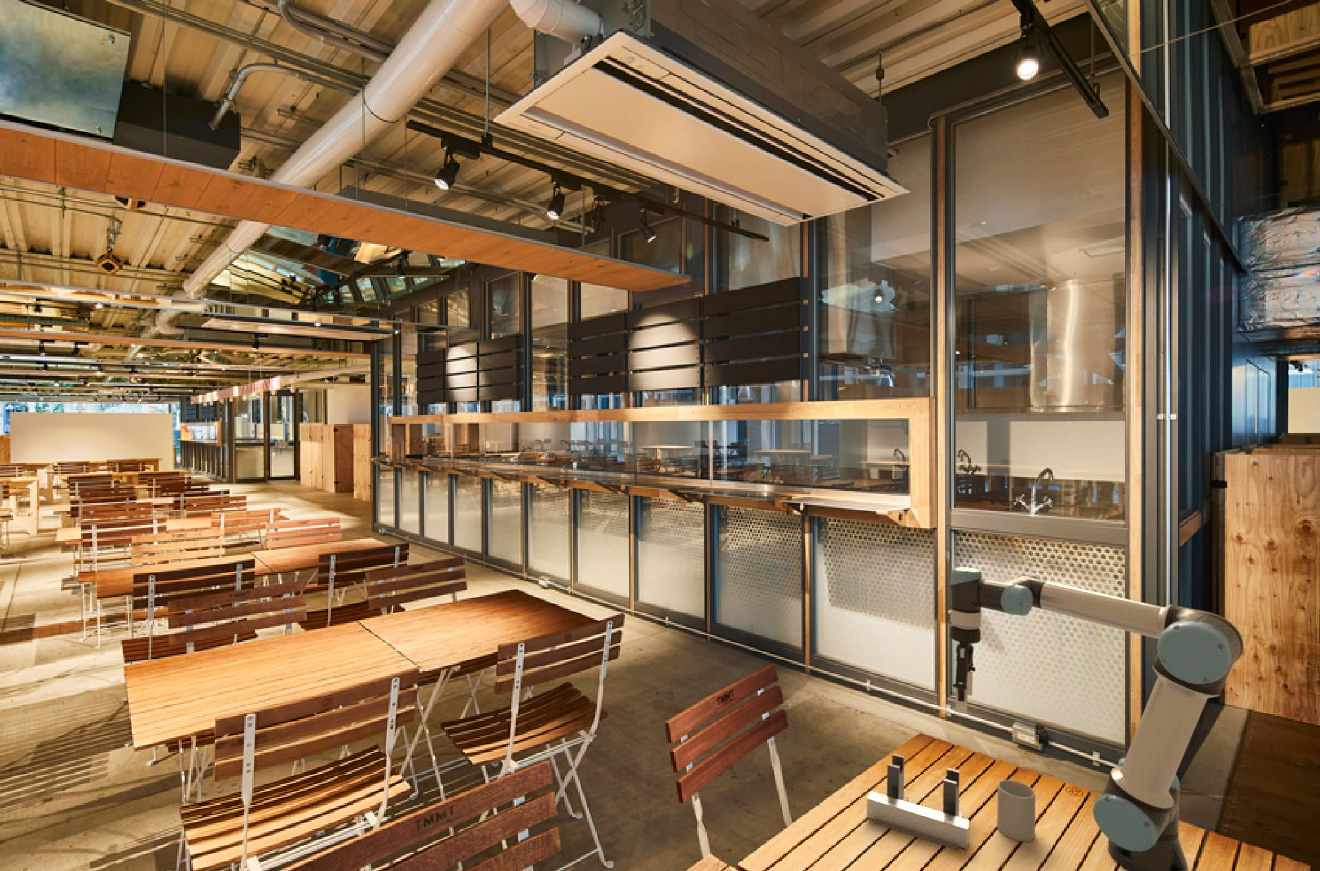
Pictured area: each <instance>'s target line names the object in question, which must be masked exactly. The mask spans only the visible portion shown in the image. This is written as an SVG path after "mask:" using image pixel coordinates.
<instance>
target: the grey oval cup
mask: <svg viewBox="0 0 1320 871" xmlns="http://www.w3.org/2000/svg"><path fill="white" fill-rule="evenodd" d="M996 808H997V812H996V814H997V817H996V826H997V829H998V831H999V832H1000V833H1001V834H1002V835H1004V836H1006V837H1007V838H1010V839H1012V840H1015V841H1018V842H1019V841H1020V842H1030V841H1032V840H1034V838H1035V836H1036V791H1034V789H1033V788H1031V787H1030V786H1029V785H1027V784H1026V783H1023V782H1020V781H1018V780H1012V779H1011V780H1010V779H1002V780H1000V781H999V782H998V784H997V806H996Z"/></svg>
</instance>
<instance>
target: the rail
mask: <svg viewBox="0 0 1320 871" xmlns="http://www.w3.org/2000/svg"><path fill="white" fill-rule="evenodd" d="M866 818H868V819H872V820H873V821H875V820H877V821H880V822H884V823H887V824H890V825H893V826H896V827H899V828H902V829H905V830H908V831H912V832H915V833H918V834H921V835H924V836H927V837H930V838H933V839H937V840H940V841H943V842H946V843H949V844H952V845H955V846H958V847H959V848H962V849H965V850H968V849H969V848H968V847H969V841H970V820H969V819H965V818H964V817H963V818H959V817H956V816H952V815H949V814H946V813H942V811H938V810H935V809H932V808H929V807H925V806H923V805H922V806H921V805H919V804H915V803H912V802H908V801H907V802H906V801H902V800H899V799H896V798H892V797H889V796H887V795H885V794H882V793H878V792H875V791H871V790H870V792H869V794H868V795H867V798H866Z"/></svg>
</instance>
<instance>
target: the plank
mask: <svg viewBox="0 0 1320 871" xmlns="http://www.w3.org/2000/svg"><path fill="white" fill-rule="evenodd" d="M873 821H874V822H873V824H875V825H879V826H881V827H885V828H887V829H891V830H894V831H897V832H900V833H903V834H906V835H910V836H913V837H914V838H918V839H921V840H925V841H929V842H930V843H934V844H937V845H940V846H943V847H946V848H949V849H953V850H954V851H955V850H957V851H959V848H960V847H958V846H955V845H952V844H949V843H946V842H943V841H940V840H937V839H933V838H930V837H927V836H924V835H921V834H918V833H915V832H912V831H908V830H905V829H902V828H899V827H896V826H893V825H890V824H887V823H884V822H880V821H877V820H873Z"/></svg>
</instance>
